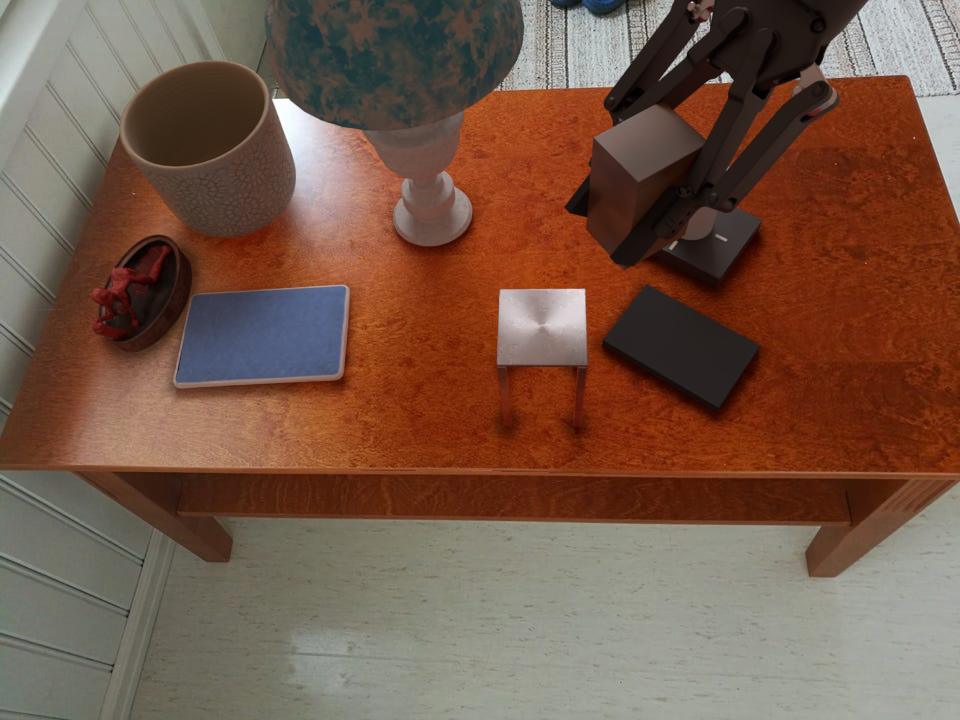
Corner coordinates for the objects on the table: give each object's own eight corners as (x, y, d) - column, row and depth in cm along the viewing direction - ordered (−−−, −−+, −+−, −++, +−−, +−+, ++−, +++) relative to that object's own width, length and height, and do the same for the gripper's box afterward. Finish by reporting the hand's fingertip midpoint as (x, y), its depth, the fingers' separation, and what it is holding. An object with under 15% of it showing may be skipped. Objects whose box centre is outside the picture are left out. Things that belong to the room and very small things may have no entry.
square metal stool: (579, 360, 81) (585, 288, 68) (580, 427, 77) (587, 364, 65) (506, 359, 81) (499, 289, 69) (504, 426, 78) (496, 364, 65)
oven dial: (720, 218, 86) (739, 161, 78) (699, 247, 84) (716, 192, 76) (681, 200, 87) (696, 142, 79) (660, 228, 86) (672, 172, 78)
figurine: (192, 348, 85) (111, 312, 77) (135, 370, 89) (52, 339, 81) (203, 240, 92) (129, 196, 83) (149, 265, 96) (73, 226, 87)
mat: (757, 350, 80) (760, 345, 78) (716, 412, 76) (718, 408, 75) (645, 289, 84) (646, 283, 83) (601, 345, 81) (602, 340, 80)
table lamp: (365, 138, 99) (268, -202, 64) (542, 153, 95) (541, -199, 60) (315, 285, 88) (164, -28, 53) (511, 308, 84) (489, -11, 49)
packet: (585, 229, 59) (592, 137, 50) (645, 195, 60) (662, 99, 51) (624, 271, 57) (638, 183, 48) (685, 235, 58) (710, 142, 49)
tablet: (174, 391, 83) (169, 386, 82) (193, 297, 89) (189, 291, 88) (344, 383, 82) (341, 377, 80) (352, 288, 88) (349, 282, 86)
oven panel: (758, 230, 87) (763, 218, 85) (715, 289, 84) (720, 278, 82) (661, 183, 91) (664, 171, 90) (617, 237, 88) (619, 226, 86)
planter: (297, 254, 90) (254, 167, 77) (165, 257, 92) (100, 171, 78) (316, 152, 98) (280, 56, 85) (194, 155, 100) (140, 62, 86)
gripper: (968, 41, 44) (698, 321, 55) (756, -98, 51) (558, 172, 63) (946, -5, 38) (650, 319, 49) (712, -153, 46) (502, 155, 57)
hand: (599, 236), depth 56 cm, fingers closed on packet, 5 cm apart
